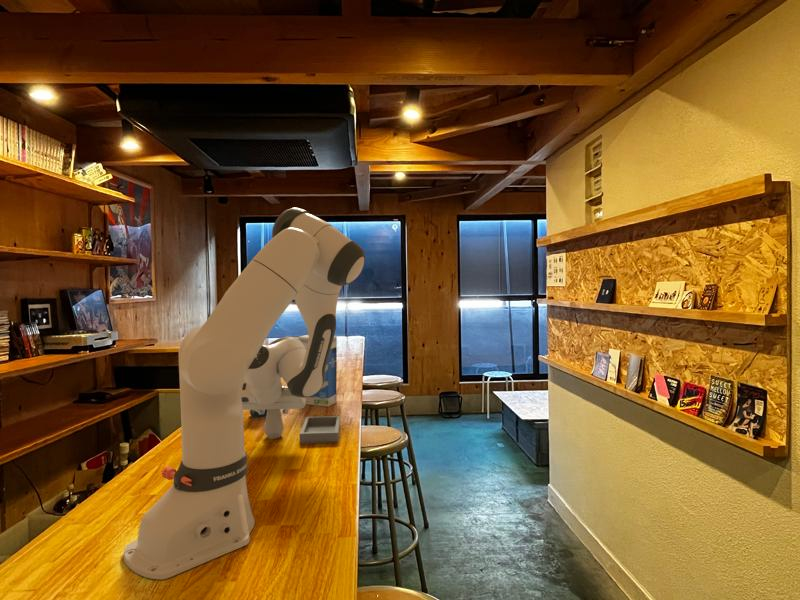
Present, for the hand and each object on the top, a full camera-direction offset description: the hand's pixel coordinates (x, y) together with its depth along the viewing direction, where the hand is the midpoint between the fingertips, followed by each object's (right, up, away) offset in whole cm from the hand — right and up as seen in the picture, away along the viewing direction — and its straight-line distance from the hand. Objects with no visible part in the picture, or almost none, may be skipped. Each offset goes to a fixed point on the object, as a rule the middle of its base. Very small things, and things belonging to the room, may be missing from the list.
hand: (274, 412), depth 140 cm
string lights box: (+7, -6, +37) cm, 38 cm away
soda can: (-11, -6, +21) cm, 24 cm away
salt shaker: (0, -8, 0) cm, 8 cm away
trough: (+14, -7, +2) cm, 16 cm away
